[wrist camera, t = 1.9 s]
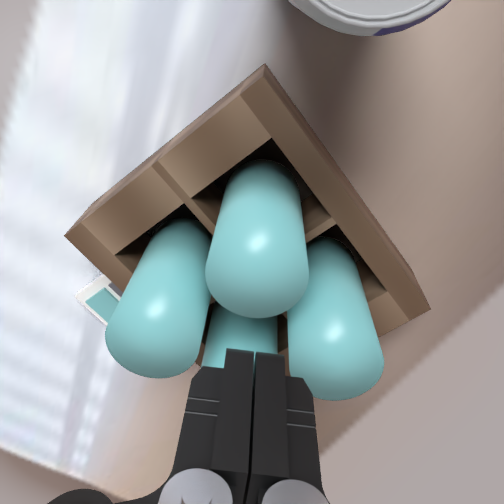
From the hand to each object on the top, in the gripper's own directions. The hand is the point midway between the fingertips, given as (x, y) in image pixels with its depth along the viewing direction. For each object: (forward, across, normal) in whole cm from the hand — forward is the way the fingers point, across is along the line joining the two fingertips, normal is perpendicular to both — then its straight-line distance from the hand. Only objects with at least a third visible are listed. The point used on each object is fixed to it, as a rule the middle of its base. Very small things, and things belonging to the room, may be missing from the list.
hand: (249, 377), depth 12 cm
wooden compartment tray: (+15, 0, +3) cm, 15 cm away
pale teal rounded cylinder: (+12, +4, +3) cm, 13 cm away
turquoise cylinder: (+12, -4, +3) cm, 13 cm away
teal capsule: (+12, 0, 0) cm, 12 cm away
